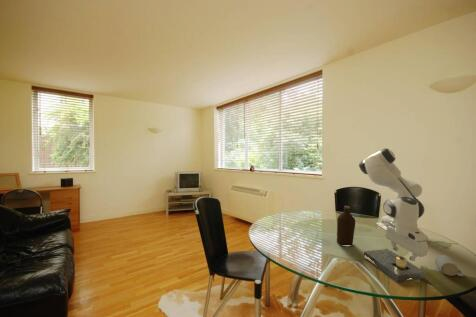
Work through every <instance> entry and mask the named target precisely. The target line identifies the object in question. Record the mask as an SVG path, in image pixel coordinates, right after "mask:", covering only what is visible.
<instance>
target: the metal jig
mask: <svg viewBox="0 0 476 317" xmlns="http://www.w3.org/2000/svg"><path fill="white" fill-rule="evenodd" d="M364 255H366V256H367V257H369V258H370V259H371V260H372V261H374V263H375V264H376V265H377V267H376V268H378V270H380V271H382V272H383V273H384V274H385V275H387V276H388V277H390V278H391V279H392V280H394V281H395V282H396V283H401V282H406V281H405V280H407V279H409V278H412V279H413V280H412V281H414V280H420V279H425V274H426V271H425V270H423V269H421V268H420V267H418V266H416V265H415V264H413V263H411V262H410V261H408V260H407V263H406V270H402V271H401V270H399V269H398V268H396V267H395V265H396V256H399V255H398V254H397V253H395V252H393V251H392V250H390V249H388V248H384V249H376V250H375V249H374V250H365V251H363V256H364Z"/></svg>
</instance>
